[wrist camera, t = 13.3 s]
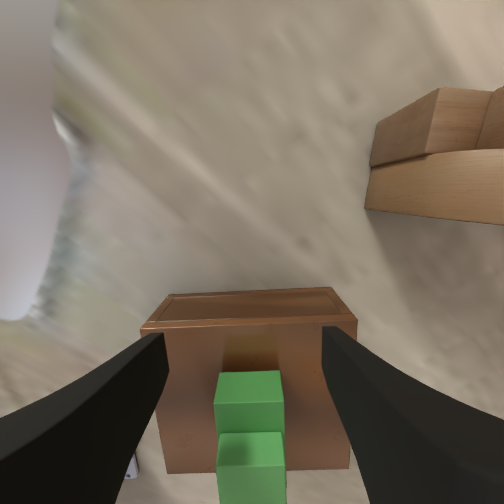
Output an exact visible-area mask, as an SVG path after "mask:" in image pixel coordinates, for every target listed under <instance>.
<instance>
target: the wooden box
mask: <svg viewBox="0 0 504 504" xmlns="http://www.w3.org/2000/svg"><path fill="white" fill-rule="evenodd" d="M337 314H352V312H351V311H350V310H349V308H348V307H347V306H346V305H345V303H344V302H343V301H342V300H341V299H340V297H339V296H338V295H337V294H336V292H335V291H334V290H333V289H332V287H320V288H299V289H277V290H256V291H235V292H213V293H192V294H171V295H168V296H167V297H166V299H165V300H164V301H163V302H162V303H161V305H160V306H159V307H158V308H157V309H156V310H155V312H154V313H153V314H152V315H151V316H150V318H149V319H148V320H147V321H146V323H155V322H178V321H201V320H223V319H246V318H269V317H292V316H314V315H337Z"/></svg>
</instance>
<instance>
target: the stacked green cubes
mask: <svg viewBox="0 0 504 504" xmlns="http://www.w3.org/2000/svg"><path fill="white" fill-rule="evenodd" d="M213 404H214V412H215V421H216V429H217V438H218V452H217V459H216V466H215V468H216V476H217V484H218V492H219V500H220V504H287V501H286V488H287V482H286V446H285V410H284V396H283V389H282V379H281V372H280V370H269V371H252V372H220V373H219V378H218V383H217V388H216V393H215V398H214V403H213Z"/></svg>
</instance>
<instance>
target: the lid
mask: <svg viewBox="0 0 504 504" xmlns="http://www.w3.org/2000/svg"><path fill="white" fill-rule="evenodd" d="M357 324H358V319H357V318H356V317H355V315H354V314H337V315H314V316H292V317H269V318H246V319H223V320H201V321H178V322H155V323H144V324H143V326H142V327H141V328H140V333H141V338H143V337H144V336H146V335H148V334H149V333H159V332H164V338H165V344H166V350H167V357H168V363H169V369H170V371H169V374H168V378H167V381H166V384H165V387H164V390H163V392H162V395H161V397H160V399H159V401H158V404H157V406H156V408H155V412H156V417H157V422H158V428H159V433H160V438H161V443H162V449H163V454H164V459H165V464H166V470H167V474H183V473H216V468H215V466H216V459H217V452H218V438H217V429H216V421H215V412H214V404H213V403H214V398H215V393H216V388H217V383H218V378H219V373H220V372H252V371H269V370H280V372H281V379H282V389H283V396H284V410H285V446H286V471H290V470H325V469H349V461H350V441H349V439H348V436H347V434H346V432H345V429H344V427H343V424H342V422H341V419H340V417H339V415H338V412H337V410H336V407H335V405H334V403H333V400H332V398H331V395H330V393H329V390H328V388H327V384H326V381H325V377H324V374H323V370H322V366H321V356H322V326H337V327H338V328H340V329H341V330H342V331H344V332H345V333H346V334H348V335H349V336H350V337H352V338H353V339H354V340H356V341H357Z"/></svg>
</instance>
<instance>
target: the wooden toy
mask: <svg viewBox="0 0 504 504" xmlns="http://www.w3.org/2000/svg"><path fill="white" fill-rule="evenodd" d="M369 165H370V166H371V167H373V168H372V170H371V175H370V180H369V185H368V190H367V195H366V200H365V206H364V208H365V209H372V210H379V211H386V212H393V213H401V214H408V215H415V216H423V217H431V218H440V219H449V220H458V221H467V222H476V223H486V224H496V225H504V86H503V87H501V88H499V89H497V90H496V91H494V92H490V91H479V90H468V89H457V88H447V87H440V88H438V89H436V90H434V91H432V92H431V93H429V94H427V95H425V96H424V97H422V98H420V99H418V100H417V101H415V102H413V103H412V104H410V105H408V106H406V107H405V108H403V109H401V110H399V111H398V112H396V113H394V114H392V115H391V116H389V117H387V118H385V119H384V120H382V121H380V122H379V123H378V124H377V127H376V132H375V137H374V142H373V148H372V153H371V158H370V163H369Z"/></svg>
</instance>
